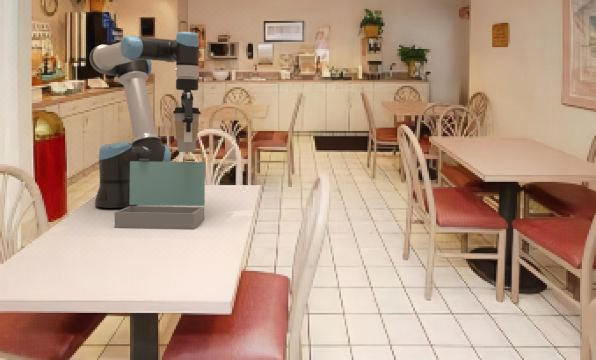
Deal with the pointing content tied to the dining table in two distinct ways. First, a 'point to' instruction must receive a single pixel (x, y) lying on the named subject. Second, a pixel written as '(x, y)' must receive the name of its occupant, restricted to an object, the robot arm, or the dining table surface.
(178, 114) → the coffee cup
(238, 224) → the dining table surface
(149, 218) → the grey shallow open piece
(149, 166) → the cover
